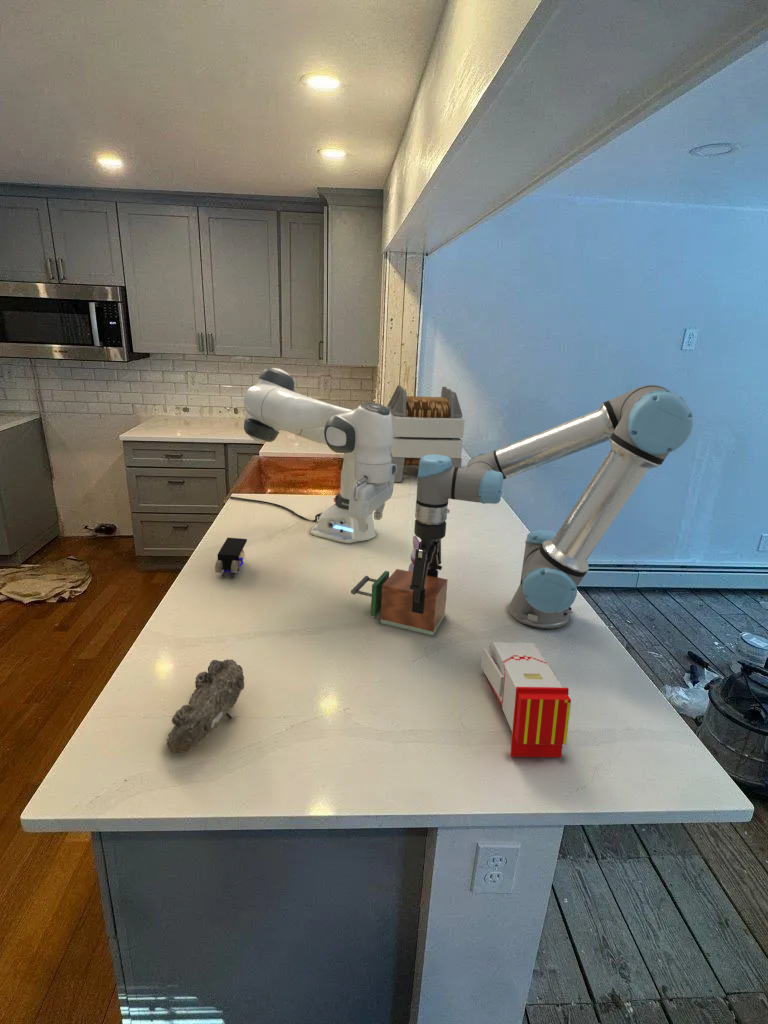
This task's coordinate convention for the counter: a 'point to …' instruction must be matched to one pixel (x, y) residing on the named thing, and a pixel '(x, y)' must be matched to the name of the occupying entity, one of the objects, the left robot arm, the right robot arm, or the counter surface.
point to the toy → (528, 698)
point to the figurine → (415, 546)
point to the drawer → (373, 591)
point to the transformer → (425, 428)
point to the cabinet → (401, 598)
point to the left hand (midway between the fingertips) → (370, 524)
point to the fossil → (206, 705)
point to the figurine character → (230, 556)
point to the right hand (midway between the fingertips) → (424, 602)
